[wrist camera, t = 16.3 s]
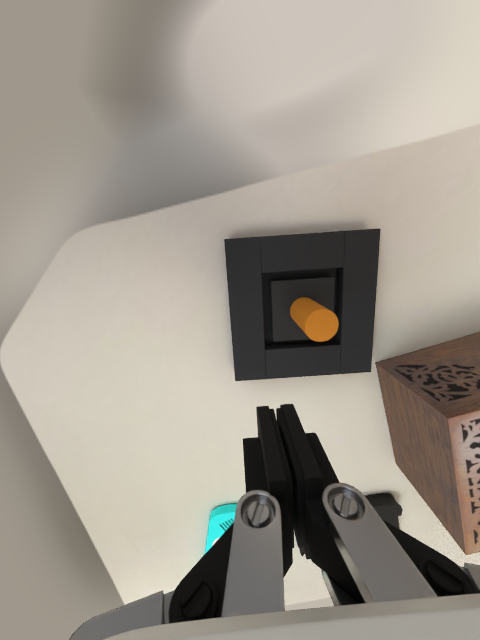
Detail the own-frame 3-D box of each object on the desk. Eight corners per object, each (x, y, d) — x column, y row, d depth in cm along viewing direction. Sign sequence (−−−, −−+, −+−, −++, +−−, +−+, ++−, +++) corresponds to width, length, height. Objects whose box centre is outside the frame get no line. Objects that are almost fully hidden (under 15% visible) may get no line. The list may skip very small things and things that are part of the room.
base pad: (225, 240, 25) (224, 239, 23) (367, 231, 25) (380, 228, 23) (235, 371, 28) (235, 381, 26) (359, 362, 28) (371, 372, 26)
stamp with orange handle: (269, 279, 25) (281, 289, 18) (329, 275, 25) (363, 283, 18) (271, 337, 27) (283, 365, 20) (328, 333, 27) (359, 360, 20)
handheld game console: (287, 508, 33) (289, 518, 32) (268, 592, 37) (269, 605, 36) (212, 501, 33) (211, 511, 32) (200, 587, 37) (199, 599, 35)
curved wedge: (290, 506, 33) (293, 519, 32) (394, 491, 33) (402, 502, 31) (298, 553, 35) (301, 566, 34) (396, 538, 35) (403, 552, 33)
